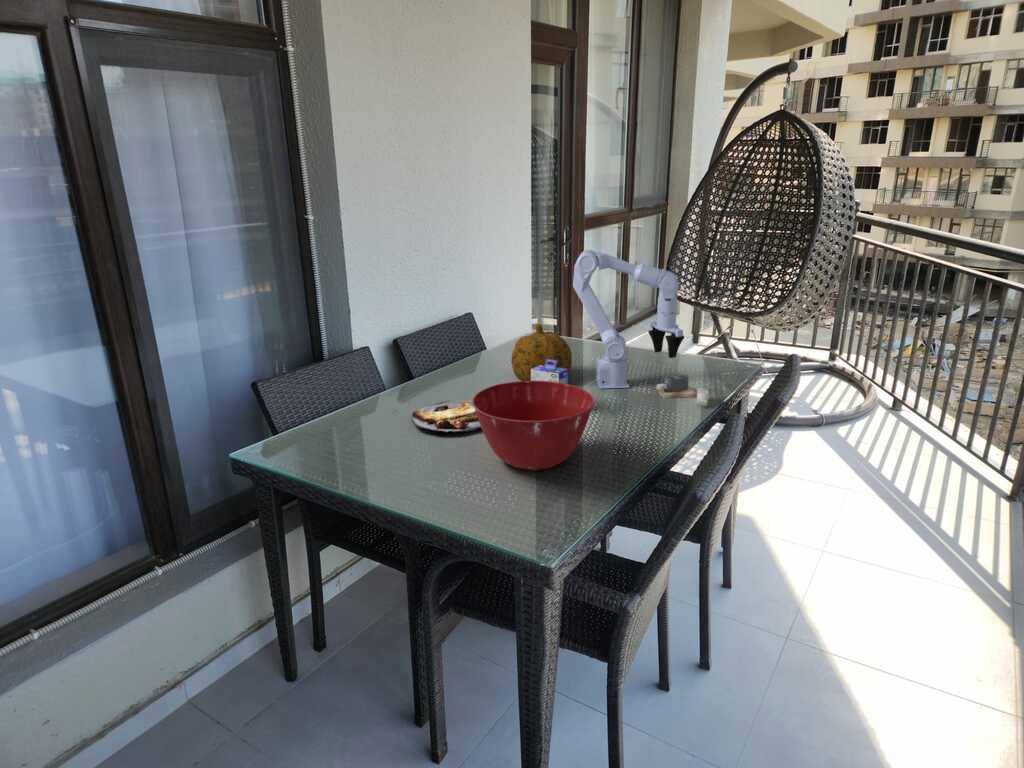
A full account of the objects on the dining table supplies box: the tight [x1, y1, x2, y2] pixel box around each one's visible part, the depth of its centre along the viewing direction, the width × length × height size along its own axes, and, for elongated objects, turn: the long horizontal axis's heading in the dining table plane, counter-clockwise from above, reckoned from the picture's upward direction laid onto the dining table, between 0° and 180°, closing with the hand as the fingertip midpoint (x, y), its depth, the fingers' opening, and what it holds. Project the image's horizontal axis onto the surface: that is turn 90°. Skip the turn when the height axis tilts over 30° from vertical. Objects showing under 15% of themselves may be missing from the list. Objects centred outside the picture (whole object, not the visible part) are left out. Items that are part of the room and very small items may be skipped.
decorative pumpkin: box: [510, 323, 573, 381], centre depth 212 cm, size 20×21×20 cm
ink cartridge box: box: [531, 359, 569, 384], centre depth 186 cm, size 10×6×14 cm, turn 55°
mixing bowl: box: [471, 380, 595, 471], centre depth 152 cm, size 28×28×15 cm
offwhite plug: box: [695, 387, 709, 408], centre depth 188 cm, size 9×3×4 cm, turn 167°
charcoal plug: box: [656, 374, 690, 392], centre depth 197 cm, size 10×3×4 cm, turn 112°
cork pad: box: [655, 384, 697, 399], centre depth 198 cm, size 10×10×1 cm
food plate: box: [410, 399, 482, 434], centre depth 180 cm, size 25×23×4 cm
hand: (665, 354), depth 202 cm, fingers open, 7 cm apart
